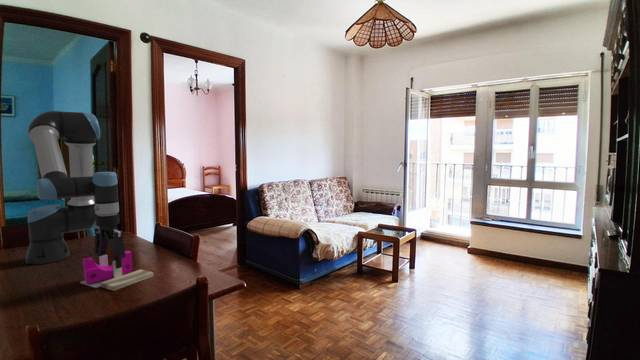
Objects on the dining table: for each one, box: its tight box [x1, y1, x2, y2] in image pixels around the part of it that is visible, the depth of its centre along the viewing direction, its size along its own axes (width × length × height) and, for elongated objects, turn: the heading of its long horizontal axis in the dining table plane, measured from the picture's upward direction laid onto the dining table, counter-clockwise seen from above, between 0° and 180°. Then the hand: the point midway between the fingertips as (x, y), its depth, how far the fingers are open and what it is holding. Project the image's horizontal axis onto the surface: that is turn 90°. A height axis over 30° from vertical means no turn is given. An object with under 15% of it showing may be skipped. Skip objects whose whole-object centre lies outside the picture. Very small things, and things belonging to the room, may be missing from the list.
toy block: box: [82, 249, 134, 284], centre depth 125 cm, size 15×6×8 cm, turn 131°
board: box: [100, 269, 154, 291], centre depth 123 cm, size 8×15×2 cm, turn 152°
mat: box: [79, 273, 127, 289], centre depth 126 cm, size 10×13×1 cm
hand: (111, 274), depth 126 cm, fingers closed on toy block, 8 cm apart
